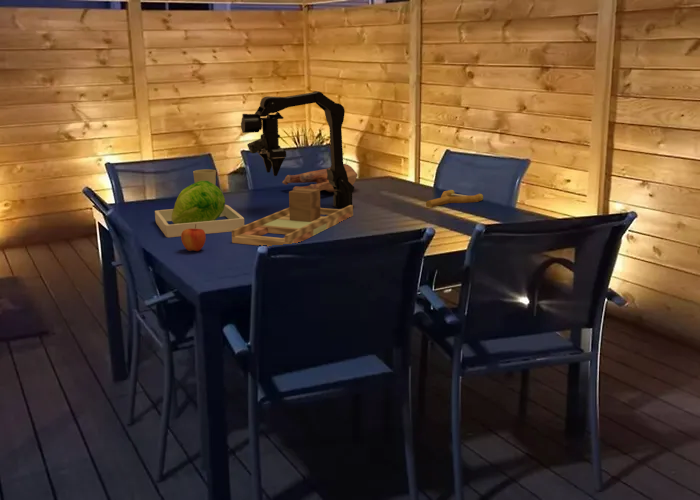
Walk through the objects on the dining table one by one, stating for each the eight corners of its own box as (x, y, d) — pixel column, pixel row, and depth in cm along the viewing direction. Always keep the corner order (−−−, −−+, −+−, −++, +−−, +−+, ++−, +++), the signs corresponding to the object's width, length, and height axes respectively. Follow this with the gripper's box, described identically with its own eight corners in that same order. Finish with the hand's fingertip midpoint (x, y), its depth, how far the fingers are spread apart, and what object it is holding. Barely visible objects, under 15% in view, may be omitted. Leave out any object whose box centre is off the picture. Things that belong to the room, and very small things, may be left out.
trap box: (304, 211, 291) (303, 201, 290) (352, 215, 283) (352, 205, 282) (232, 242, 246) (231, 230, 245) (287, 248, 238) (287, 235, 237)
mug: (223, 200, 315) (221, 171, 312) (200, 203, 309) (198, 173, 306) (211, 196, 324) (210, 167, 321) (189, 199, 318) (187, 170, 315)
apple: (177, 252, 234) (175, 227, 232) (190, 247, 241) (188, 221, 239) (198, 254, 232) (196, 228, 230) (211, 248, 238) (209, 223, 236)
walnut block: (300, 215, 275) (299, 187, 272) (320, 217, 272) (319, 189, 269) (289, 220, 268) (288, 191, 265) (310, 222, 265) (309, 193, 262)
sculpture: (283, 205, 332) (339, 195, 349) (315, 194, 311) (373, 184, 328) (276, 178, 332) (333, 169, 349) (308, 165, 311) (366, 156, 328)
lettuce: (184, 217, 282) (157, 189, 270) (231, 191, 279) (206, 161, 267) (189, 249, 270) (160, 221, 258) (238, 222, 267) (211, 192, 255)
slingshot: (411, 197, 302) (449, 189, 320) (411, 205, 303) (448, 196, 320) (447, 203, 290) (484, 193, 308) (447, 211, 291) (484, 201, 309)
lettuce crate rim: (227, 215, 286) (227, 204, 285) (245, 230, 263) (244, 218, 262) (155, 221, 277) (154, 210, 276) (166, 237, 253) (165, 225, 252)
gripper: (242, 130, 287) (244, 172, 291) (255, 135, 270) (257, 179, 274) (271, 129, 291) (272, 170, 295) (286, 133, 274) (287, 177, 278)
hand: (271, 174), depth 286 cm, fingers open, 9 cm apart
